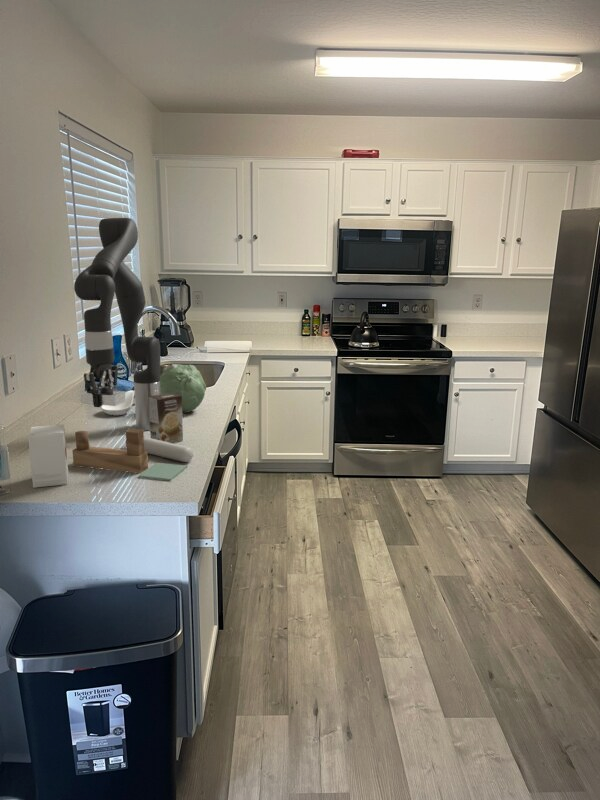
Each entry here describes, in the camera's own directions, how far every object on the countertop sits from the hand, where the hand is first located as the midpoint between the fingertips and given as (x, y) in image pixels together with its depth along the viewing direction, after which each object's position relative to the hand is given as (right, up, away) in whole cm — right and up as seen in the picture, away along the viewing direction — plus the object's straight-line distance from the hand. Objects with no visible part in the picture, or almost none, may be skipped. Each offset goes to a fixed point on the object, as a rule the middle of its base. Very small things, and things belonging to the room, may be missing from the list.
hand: (103, 404), depth 168 cm
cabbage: (+10, -4, +66) cm, 67 cm away
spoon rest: (-14, -3, +68) cm, 69 cm away
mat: (+17, -20, 0) cm, 26 cm away
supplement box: (-12, -22, -7) cm, 26 cm away
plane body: (+1, -19, +4) cm, 19 cm away
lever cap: (0, 0, 0) cm, 1 cm away
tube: (+12, -15, +12) cm, 22 cm away
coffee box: (+12, -13, +29) cm, 34 cm away
